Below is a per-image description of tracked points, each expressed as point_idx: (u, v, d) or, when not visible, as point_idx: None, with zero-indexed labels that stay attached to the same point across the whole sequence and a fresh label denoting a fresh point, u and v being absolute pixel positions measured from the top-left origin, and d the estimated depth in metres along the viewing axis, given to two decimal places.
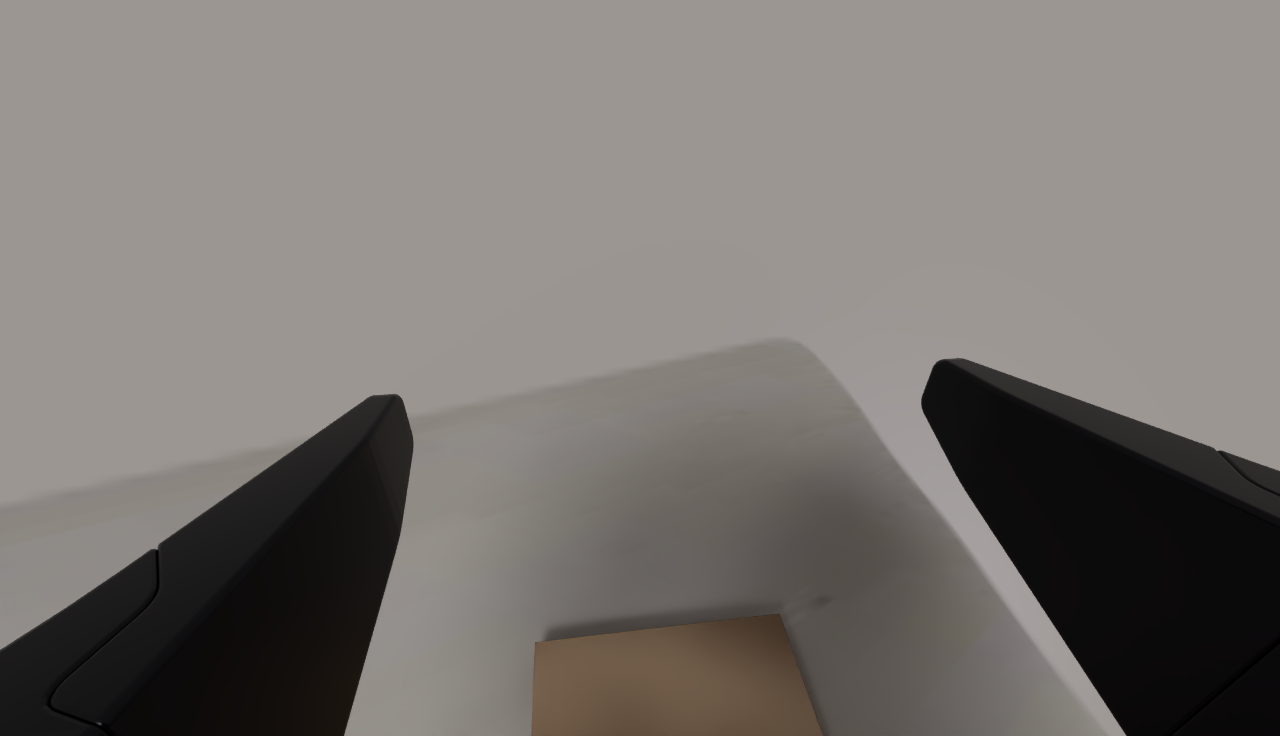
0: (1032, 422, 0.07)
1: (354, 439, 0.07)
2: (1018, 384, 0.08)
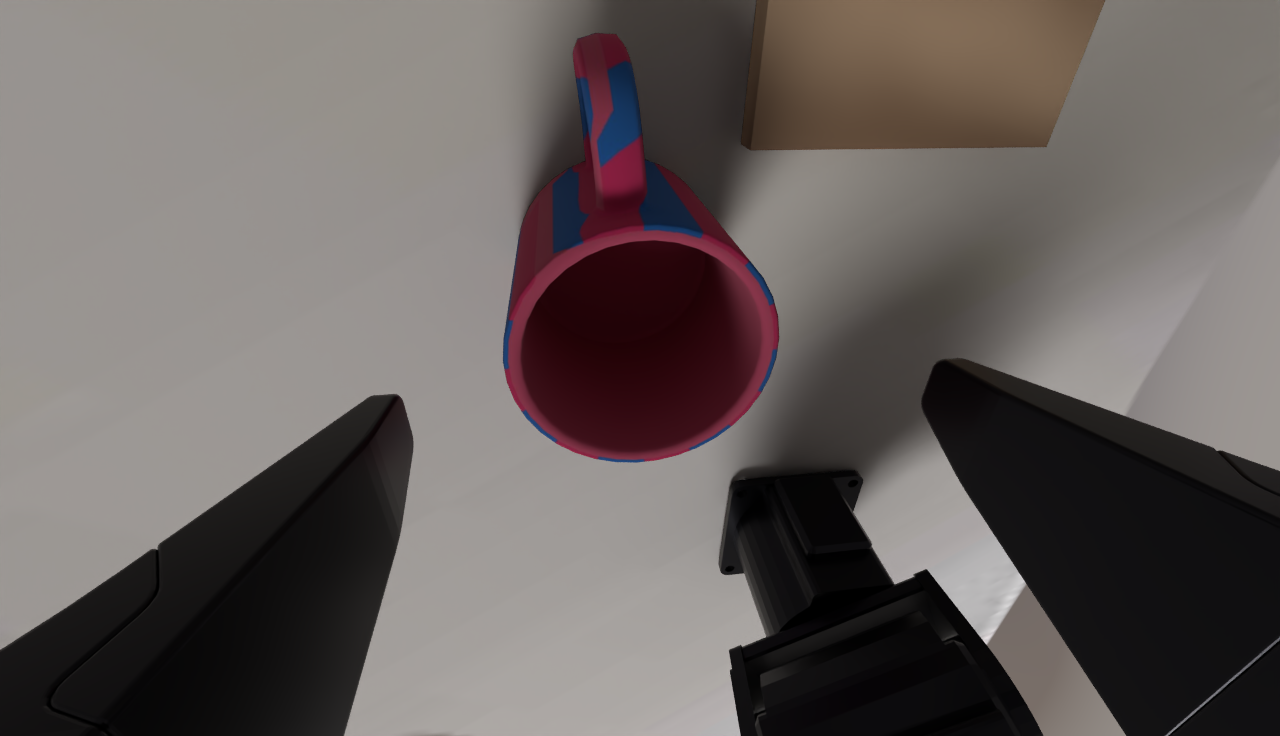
0: (1032, 422, 0.07)
1: (354, 439, 0.07)
2: (1017, 384, 0.08)
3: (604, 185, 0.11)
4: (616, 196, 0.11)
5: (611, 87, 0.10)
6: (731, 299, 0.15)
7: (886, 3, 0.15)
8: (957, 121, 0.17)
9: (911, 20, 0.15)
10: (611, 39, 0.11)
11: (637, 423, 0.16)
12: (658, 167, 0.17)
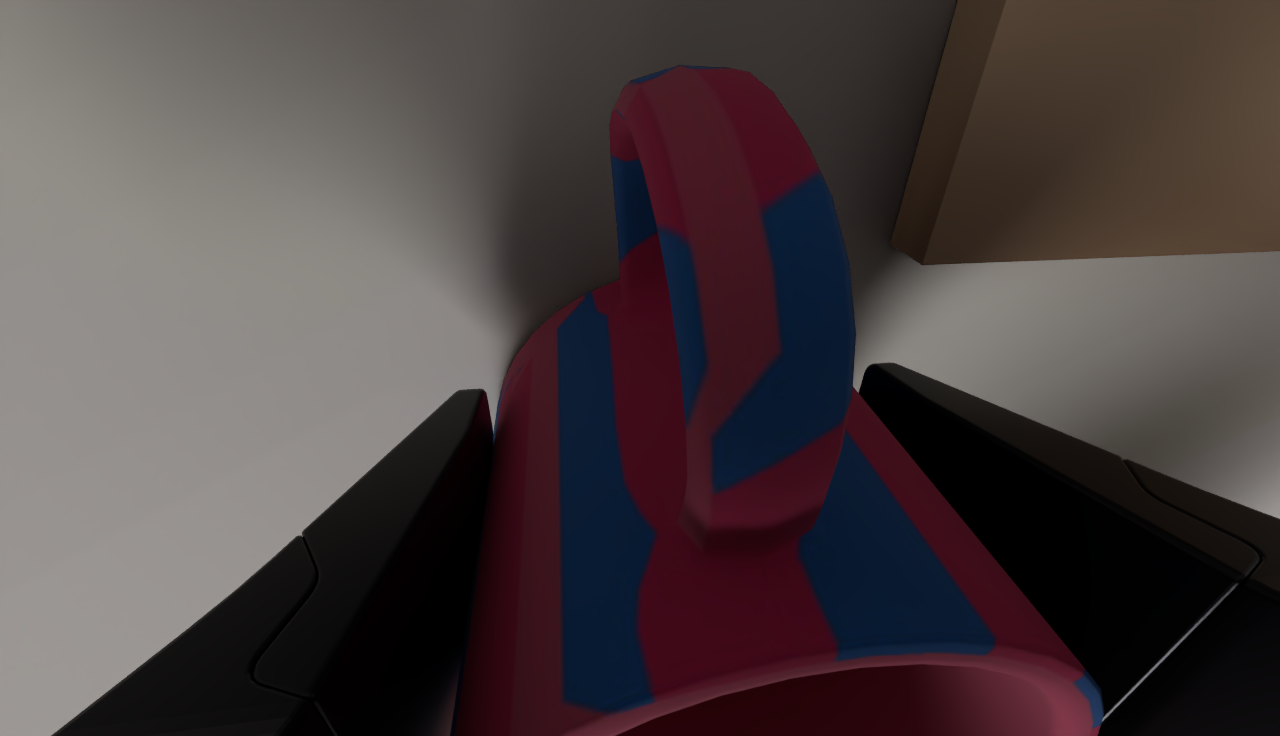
0: (948, 429, 0.07)
1: (457, 431, 0.07)
2: (940, 390, 0.08)
3: (717, 525, 0.04)
4: (745, 536, 0.04)
5: (776, 274, 0.03)
6: None
7: None
8: None
9: (1271, 27, 0.08)
10: (750, 92, 0.03)
11: None
12: None
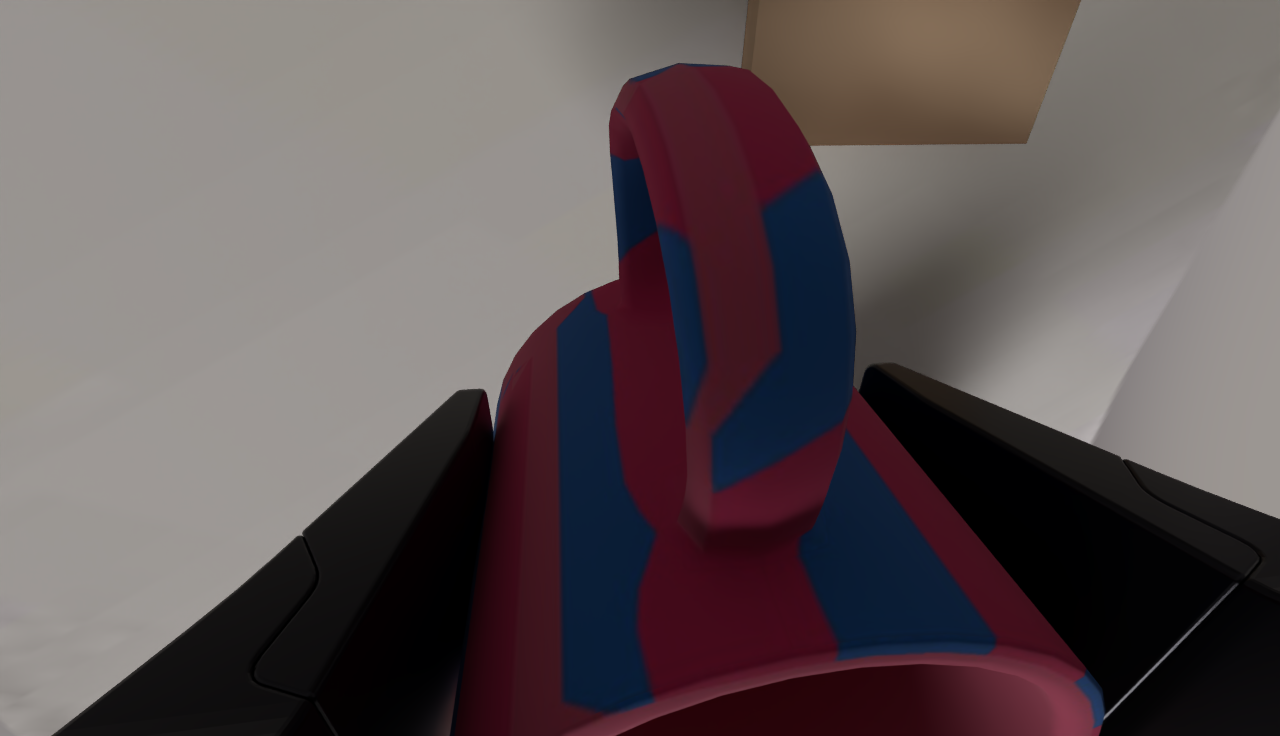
0: (948, 429, 0.07)
1: (457, 431, 0.07)
2: (940, 389, 0.08)
3: (717, 524, 0.04)
4: (745, 535, 0.04)
5: (775, 271, 0.03)
6: None
7: (870, 6, 0.15)
8: (940, 118, 0.17)
9: (895, 22, 0.16)
10: (750, 90, 0.03)
11: None
12: None
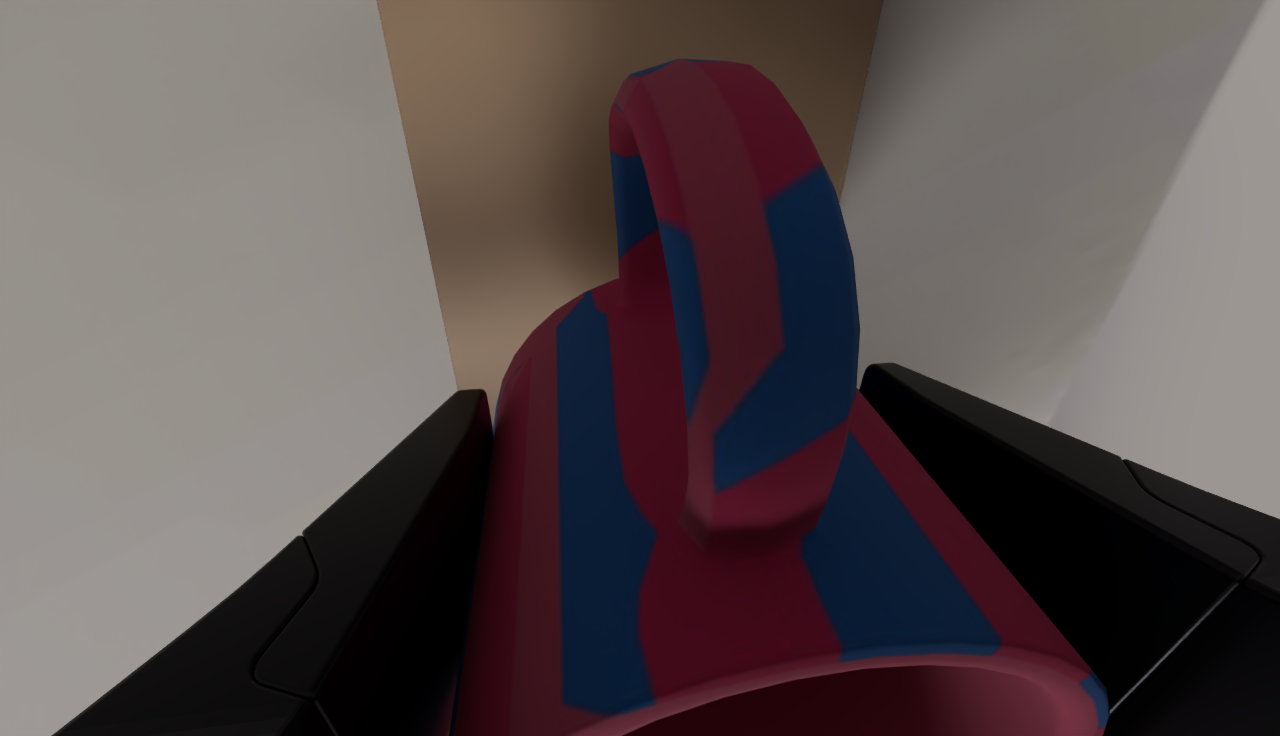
0: (948, 429, 0.07)
1: (457, 431, 0.07)
2: (940, 389, 0.08)
3: (719, 524, 0.04)
4: (747, 535, 0.04)
5: (779, 268, 0.03)
6: None
7: None
8: None
9: None
10: (752, 84, 0.03)
11: None
12: None
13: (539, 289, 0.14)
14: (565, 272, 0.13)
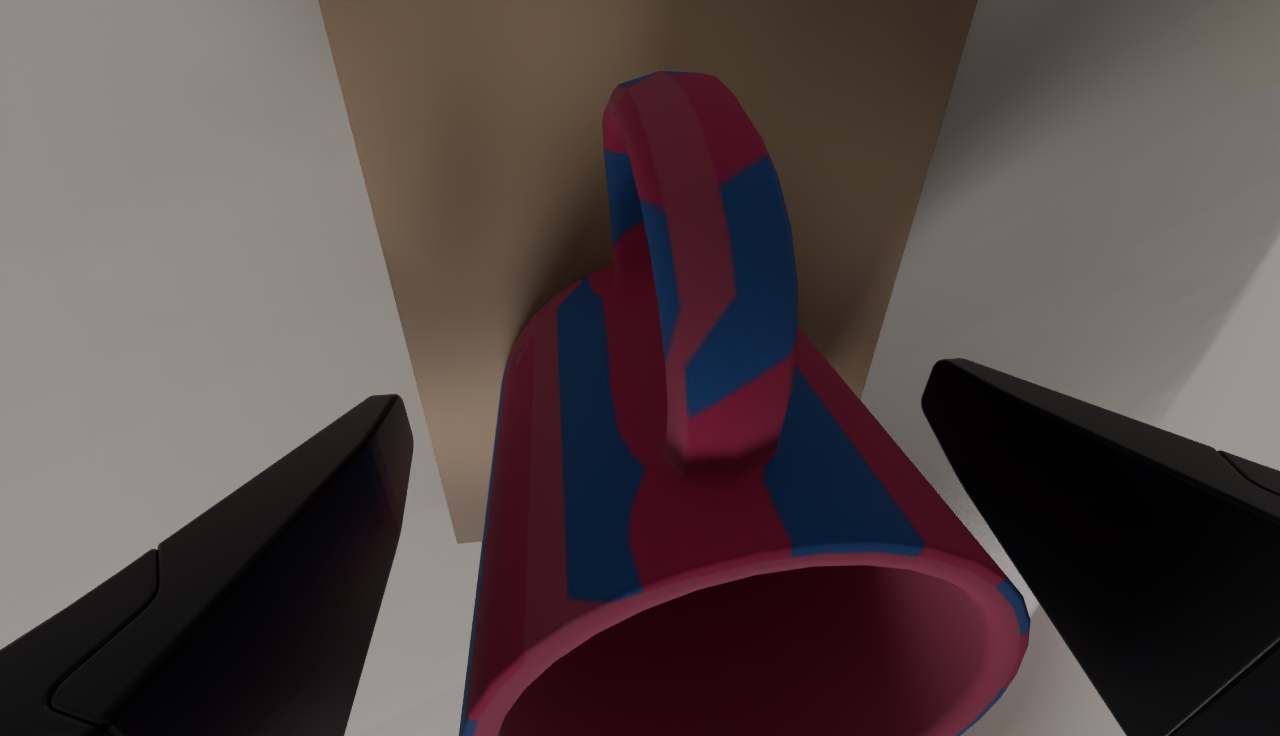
0: (1032, 422, 0.07)
1: (354, 439, 0.07)
2: (1018, 383, 0.08)
3: (693, 447, 0.05)
4: (717, 459, 0.05)
5: (731, 234, 0.04)
6: None
7: None
8: None
9: None
10: (714, 93, 0.04)
11: (708, 734, 0.09)
12: None
13: None
14: None
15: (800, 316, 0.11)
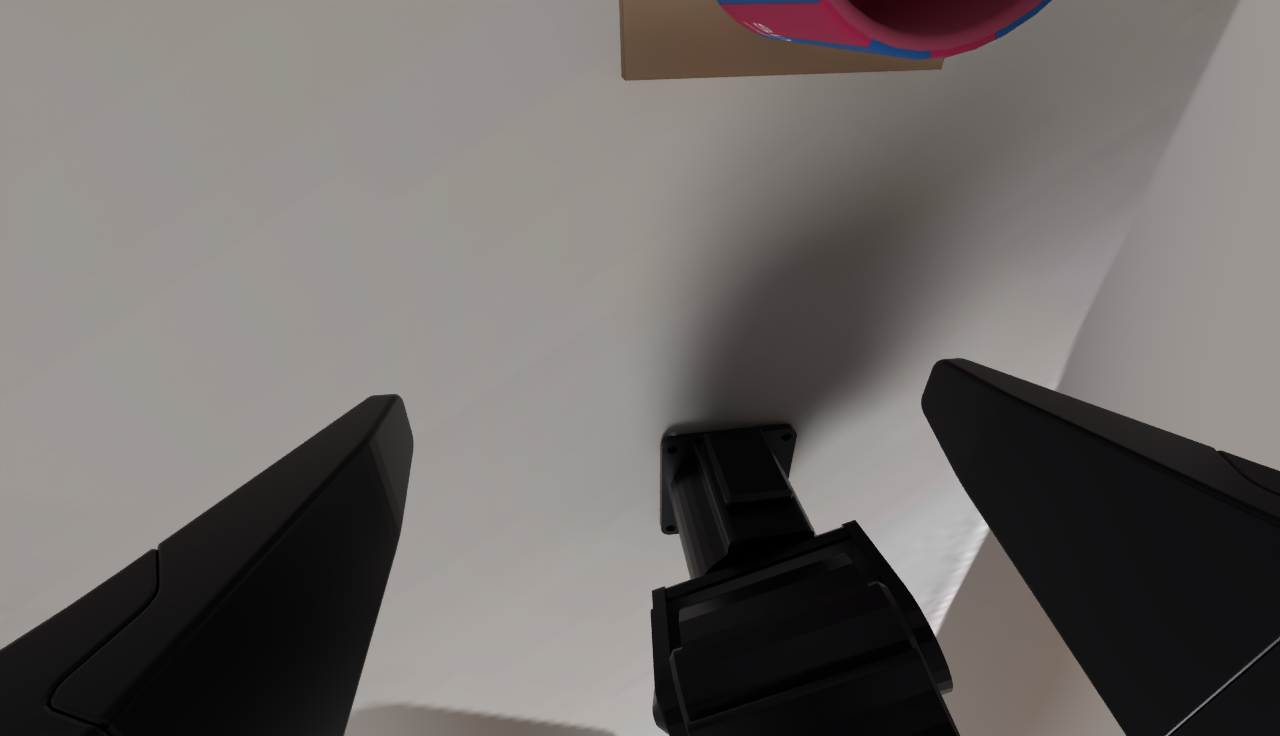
0: (1032, 422, 0.07)
1: (354, 439, 0.07)
2: (1018, 384, 0.08)
3: None
4: None
5: None
6: None
7: None
8: None
9: None
10: None
11: None
12: None
13: None
14: None
15: None
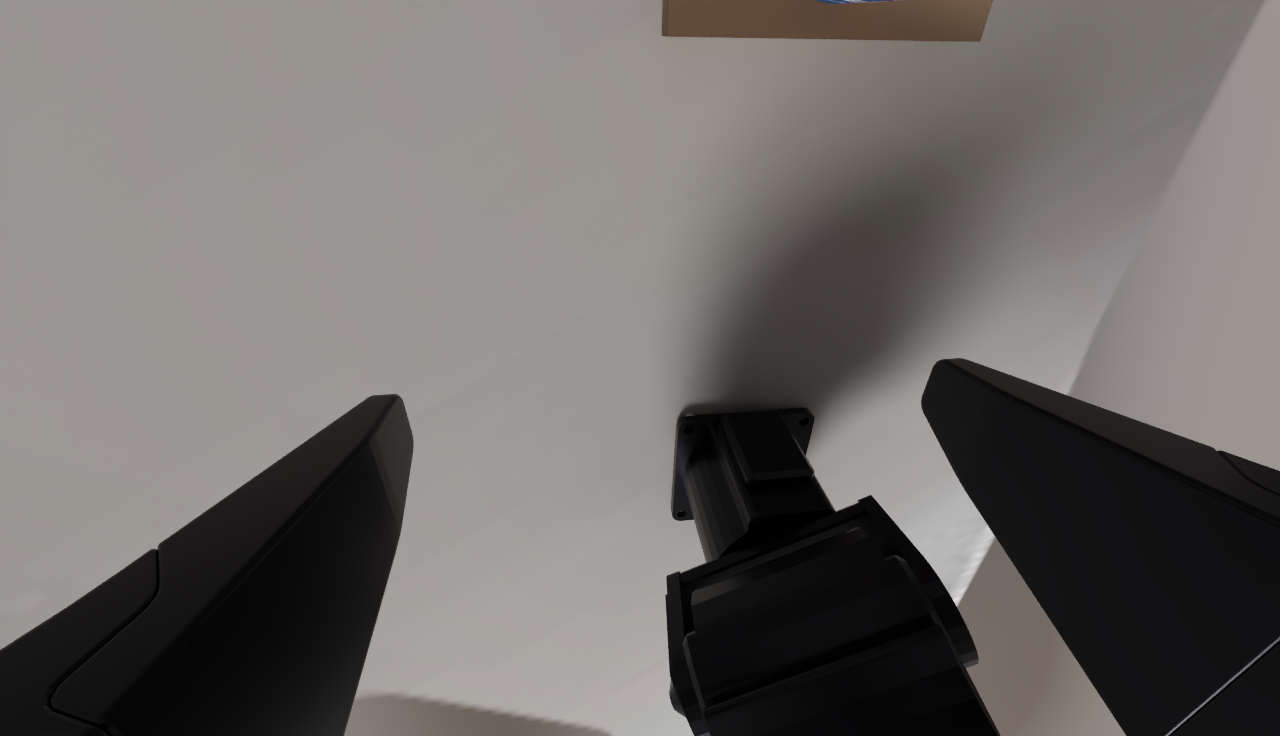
0: (1032, 422, 0.07)
1: (354, 439, 0.07)
2: (1018, 383, 0.08)
3: None
4: None
5: None
6: None
7: None
8: (884, 9, 0.16)
9: None
10: None
11: None
12: None
13: None
14: None
15: None
